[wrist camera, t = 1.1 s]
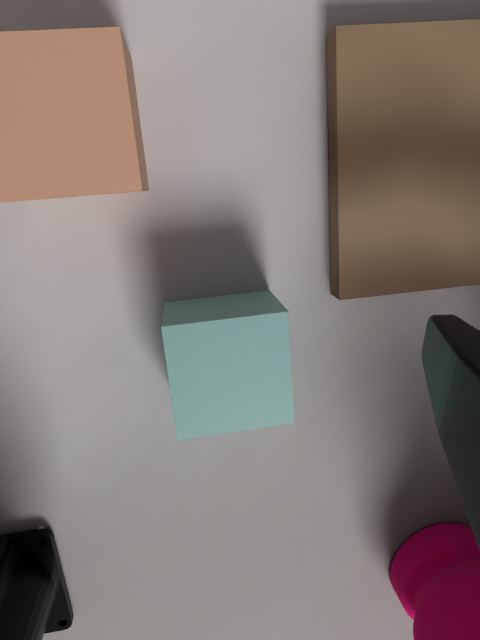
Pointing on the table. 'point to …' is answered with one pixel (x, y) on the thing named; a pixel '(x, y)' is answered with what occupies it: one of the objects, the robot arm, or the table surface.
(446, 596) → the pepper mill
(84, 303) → the table surface
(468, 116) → the walnut board
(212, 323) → the teal brick
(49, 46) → the tan brick
